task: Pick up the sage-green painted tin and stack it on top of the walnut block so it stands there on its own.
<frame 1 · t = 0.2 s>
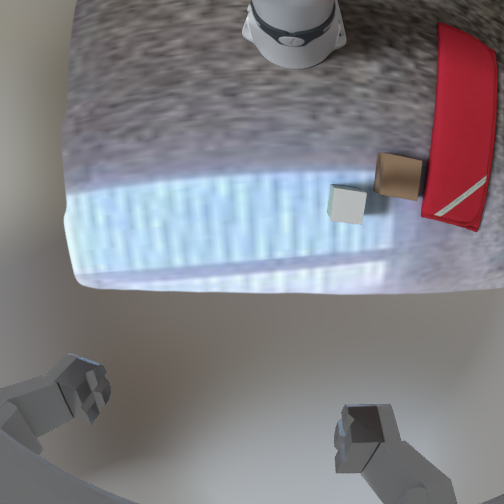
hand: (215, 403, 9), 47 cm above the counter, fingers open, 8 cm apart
walnut block: (392, 175, 49), on the counter
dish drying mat: (463, 124, 43), on the counter
sage tin: (342, 199, 52), on the counter
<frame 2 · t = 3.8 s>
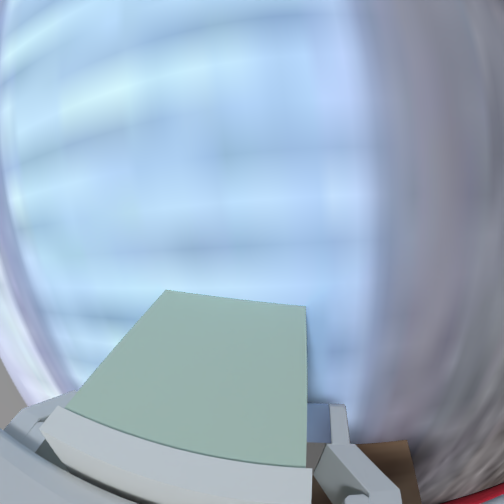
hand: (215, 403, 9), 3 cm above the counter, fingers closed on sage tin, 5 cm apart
walnut block: (331, 472, 14), on the counter
sage tin: (231, 355, 11), on the counter, touching gripper
when the fingers open (9 cm above the counter, at t = 8.3 s): sage tin drops 1 cm, point 5 cm above the counter.
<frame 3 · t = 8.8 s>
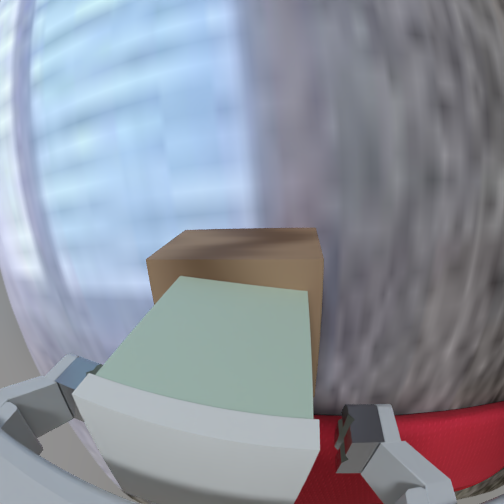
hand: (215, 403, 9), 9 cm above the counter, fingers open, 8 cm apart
walnut block: (252, 288, 17), on the counter
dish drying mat: (376, 454, 22), on the counter
sage tin: (239, 337, 12), point 5 cm above the counter
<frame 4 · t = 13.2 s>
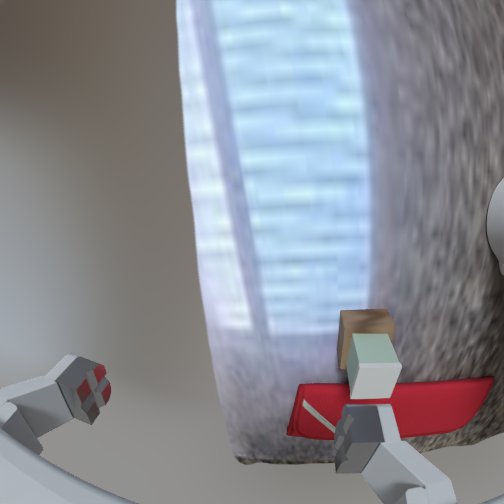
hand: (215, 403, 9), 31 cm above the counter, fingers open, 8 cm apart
walnut block: (361, 329, 42), on the counter
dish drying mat: (396, 406, 47), on the counter
sage tin: (366, 348, 37), point 5 cm above the counter
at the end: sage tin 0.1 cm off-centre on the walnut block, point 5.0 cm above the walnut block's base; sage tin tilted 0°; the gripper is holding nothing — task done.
